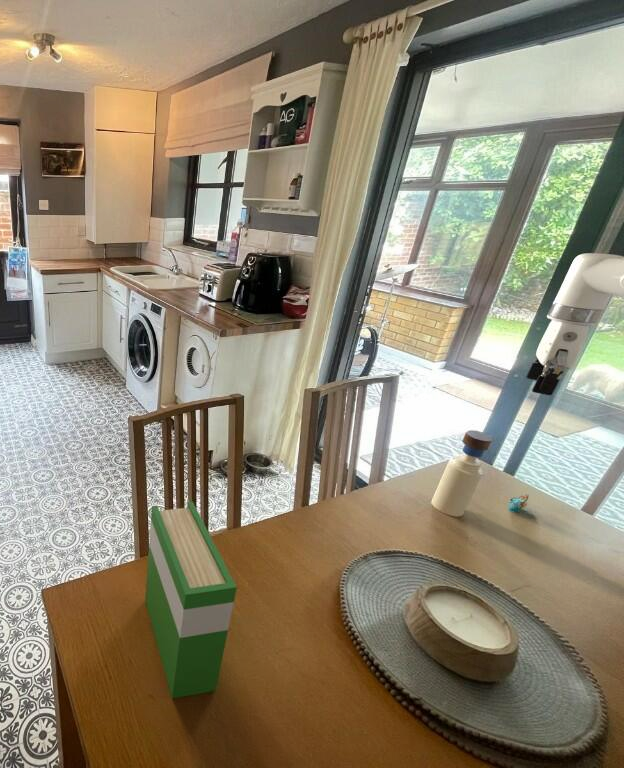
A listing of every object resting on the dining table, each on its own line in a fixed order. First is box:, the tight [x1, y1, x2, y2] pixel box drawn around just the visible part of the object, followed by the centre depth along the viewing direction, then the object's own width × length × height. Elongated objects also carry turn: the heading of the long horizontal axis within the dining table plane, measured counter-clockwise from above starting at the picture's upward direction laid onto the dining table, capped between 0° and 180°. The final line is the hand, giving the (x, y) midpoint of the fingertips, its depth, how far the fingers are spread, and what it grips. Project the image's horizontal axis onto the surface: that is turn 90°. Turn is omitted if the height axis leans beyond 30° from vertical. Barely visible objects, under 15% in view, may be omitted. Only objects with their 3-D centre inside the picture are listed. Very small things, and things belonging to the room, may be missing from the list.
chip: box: [462, 429, 494, 451], centre depth 98 cm, size 5×5×3 cm
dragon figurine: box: [507, 494, 536, 518], centre depth 108 cm, size 7×7×8 cm
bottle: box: [431, 444, 486, 517], centre depth 103 cm, size 7×7×19 cm
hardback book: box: [144, 501, 238, 700], centre depth 69 cm, size 18×7×24 cm, turn 10°
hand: (537, 386), depth 95 cm, fingers open, 9 cm apart
